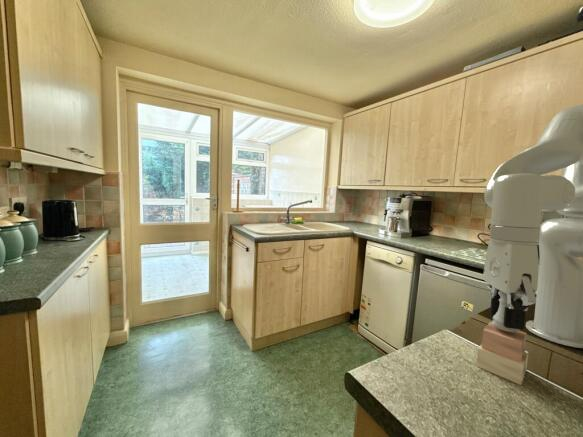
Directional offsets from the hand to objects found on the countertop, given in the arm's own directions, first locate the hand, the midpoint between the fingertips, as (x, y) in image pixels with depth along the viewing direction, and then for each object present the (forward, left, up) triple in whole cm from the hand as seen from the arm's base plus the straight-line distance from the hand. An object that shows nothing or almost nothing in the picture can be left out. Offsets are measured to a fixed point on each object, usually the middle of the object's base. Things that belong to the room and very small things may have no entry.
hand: (505, 321), depth 51 cm
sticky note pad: (0, 0, -10) cm, 10 cm away
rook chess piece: (0, 0, -2) cm, 2 cm away
